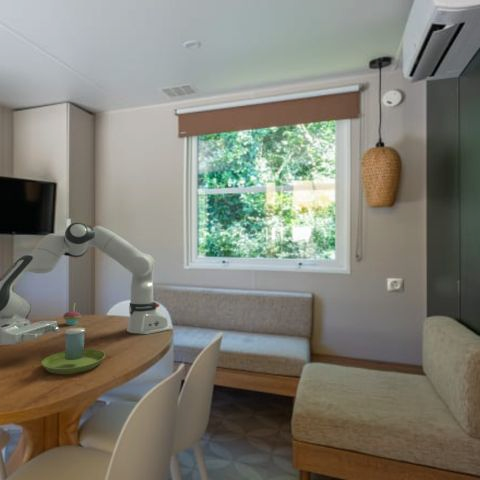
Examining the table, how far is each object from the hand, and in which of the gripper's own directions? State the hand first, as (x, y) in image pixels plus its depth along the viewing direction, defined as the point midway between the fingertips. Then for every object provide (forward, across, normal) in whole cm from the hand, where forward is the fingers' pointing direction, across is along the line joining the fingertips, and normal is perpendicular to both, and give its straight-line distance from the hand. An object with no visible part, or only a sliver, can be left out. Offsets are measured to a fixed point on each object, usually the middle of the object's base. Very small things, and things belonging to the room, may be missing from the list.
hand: (48, 333), depth 122 cm
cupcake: (-32, -48, -11) cm, 59 cm away
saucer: (+12, 0, -11) cm, 17 cm away
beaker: (+12, 0, -8) cm, 14 cm away
